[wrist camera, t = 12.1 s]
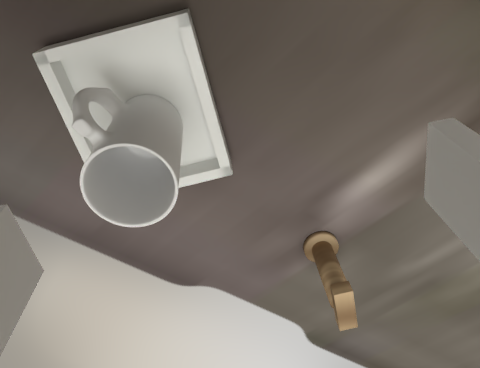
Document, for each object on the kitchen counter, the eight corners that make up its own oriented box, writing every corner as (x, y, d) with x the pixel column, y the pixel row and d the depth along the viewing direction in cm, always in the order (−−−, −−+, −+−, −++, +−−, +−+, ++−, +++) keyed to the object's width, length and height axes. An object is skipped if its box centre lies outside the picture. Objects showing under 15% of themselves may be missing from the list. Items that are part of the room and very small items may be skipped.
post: (300, 232, 47) (322, 297, 38) (334, 224, 47) (364, 288, 38) (306, 264, 50) (328, 333, 41) (339, 257, 50) (368, 324, 40)
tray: (44, 46, 36) (31, 53, 33) (188, 8, 35) (187, 12, 32) (110, 190, 43) (104, 205, 40) (231, 161, 42) (232, 174, 40)
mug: (200, 133, 40) (197, 196, 29) (146, 169, 41) (126, 242, 31) (129, 45, 35) (96, 83, 25) (72, 90, 37) (19, 143, 27)
